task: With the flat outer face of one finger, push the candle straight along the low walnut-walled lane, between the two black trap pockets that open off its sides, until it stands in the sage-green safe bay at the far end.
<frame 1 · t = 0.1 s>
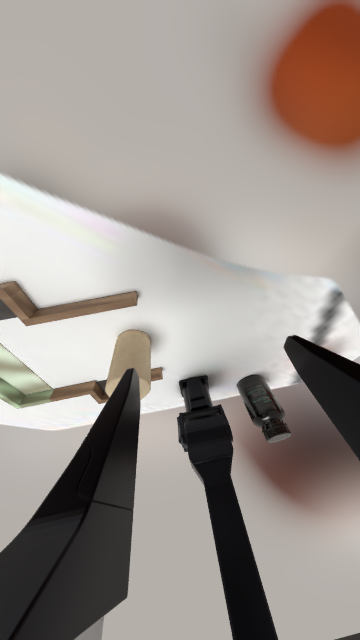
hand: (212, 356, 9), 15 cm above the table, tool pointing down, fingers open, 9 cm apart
trap lane: (79, 352, 27), on the table
candle: (133, 341, 28), on the table
supplement bottle: (249, 381, 41), on the table
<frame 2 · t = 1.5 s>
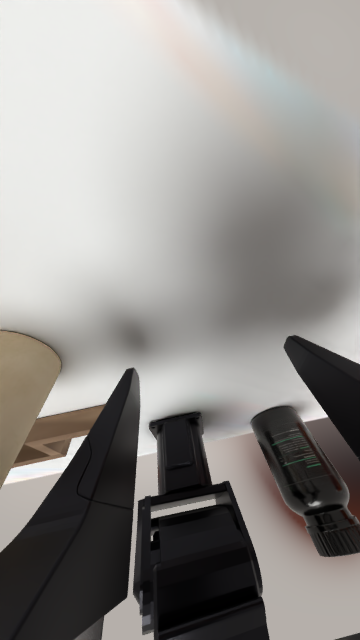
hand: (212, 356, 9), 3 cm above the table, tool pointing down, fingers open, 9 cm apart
candle: (18, 357, 11), on the table
supplement bottle: (270, 415, 25), on the table
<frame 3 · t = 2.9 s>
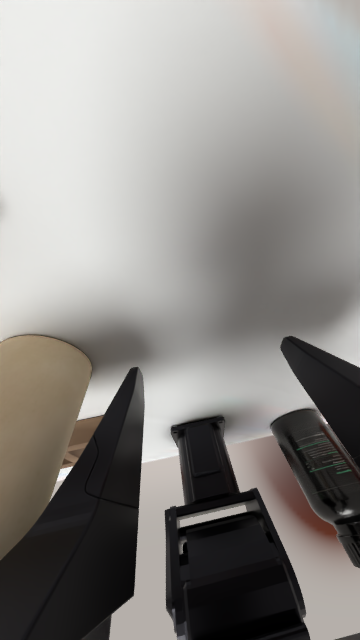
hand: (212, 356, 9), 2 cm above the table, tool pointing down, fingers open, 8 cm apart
candle: (48, 362, 11), on the table, touching gripper
supplement bottle: (291, 418, 24), on the table
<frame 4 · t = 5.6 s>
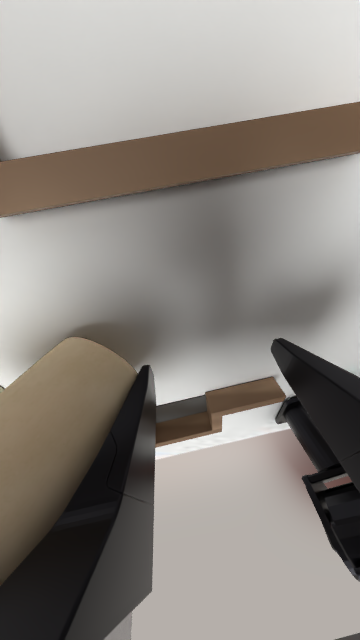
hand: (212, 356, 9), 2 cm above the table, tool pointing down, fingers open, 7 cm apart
trap lane: (128, 349, 11), on the table
candle: (105, 365, 10), point 1 cm above the table, touching gripper
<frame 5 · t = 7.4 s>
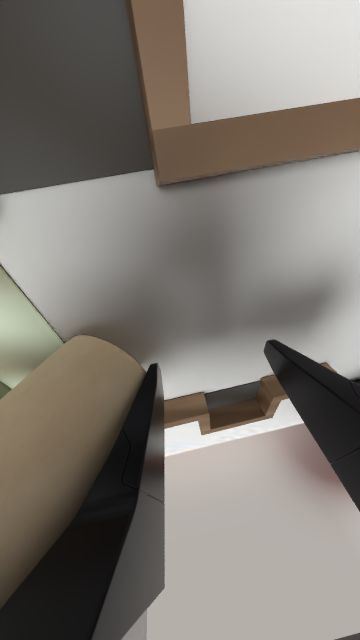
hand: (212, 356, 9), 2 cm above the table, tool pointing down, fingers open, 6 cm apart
trap lane: (211, 329, 11), on the table
candle: (112, 363, 10), point 1 cm above the table, touching gripper, trap lane
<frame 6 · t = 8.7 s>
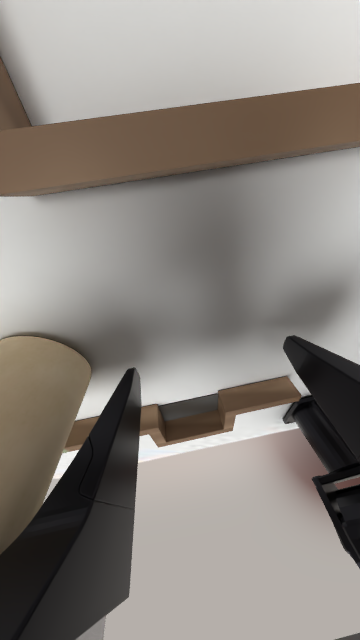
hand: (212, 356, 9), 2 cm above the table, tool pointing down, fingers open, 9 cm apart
trap lane: (146, 344, 11), on the table
candle: (47, 363, 10), on the table, touching gripper
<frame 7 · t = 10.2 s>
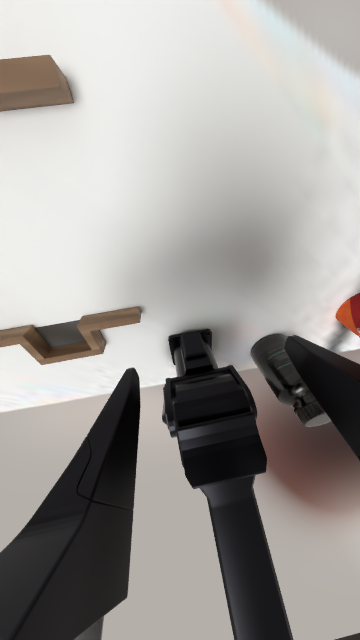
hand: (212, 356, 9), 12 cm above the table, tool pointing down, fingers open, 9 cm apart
paper cup: (352, 306, 26), on the table
supplement bottle: (267, 346, 30), on the table
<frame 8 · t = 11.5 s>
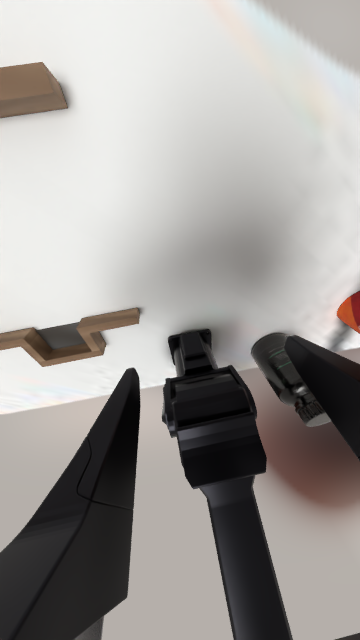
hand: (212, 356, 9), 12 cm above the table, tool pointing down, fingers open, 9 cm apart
paper cup: (354, 304, 26), on the table
supplement bottle: (268, 345, 29), on the table
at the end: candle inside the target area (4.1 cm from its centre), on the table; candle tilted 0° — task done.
